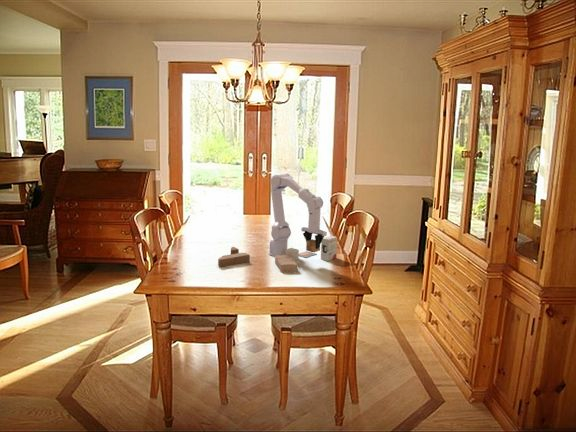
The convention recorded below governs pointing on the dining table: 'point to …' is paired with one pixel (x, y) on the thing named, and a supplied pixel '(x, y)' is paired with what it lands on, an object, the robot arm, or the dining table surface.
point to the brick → (285, 263)
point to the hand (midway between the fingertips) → (313, 247)
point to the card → (306, 254)
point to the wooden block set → (234, 258)
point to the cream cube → (292, 253)
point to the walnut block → (311, 246)
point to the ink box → (328, 248)
